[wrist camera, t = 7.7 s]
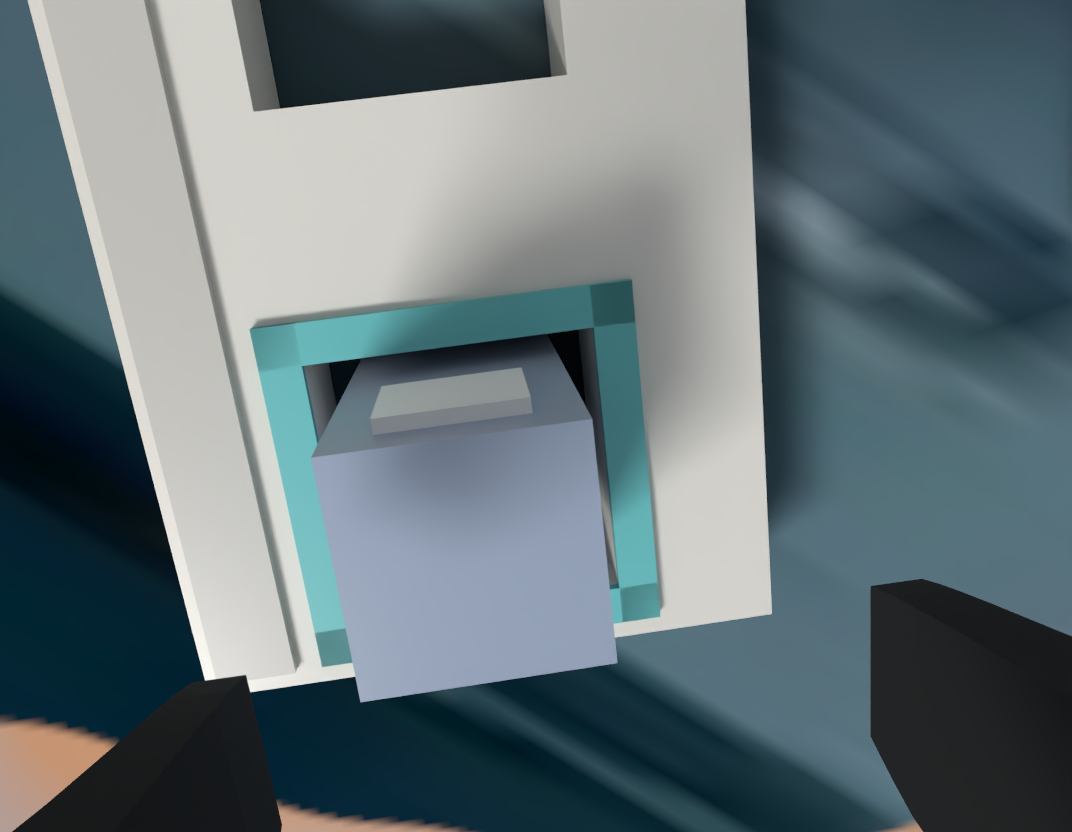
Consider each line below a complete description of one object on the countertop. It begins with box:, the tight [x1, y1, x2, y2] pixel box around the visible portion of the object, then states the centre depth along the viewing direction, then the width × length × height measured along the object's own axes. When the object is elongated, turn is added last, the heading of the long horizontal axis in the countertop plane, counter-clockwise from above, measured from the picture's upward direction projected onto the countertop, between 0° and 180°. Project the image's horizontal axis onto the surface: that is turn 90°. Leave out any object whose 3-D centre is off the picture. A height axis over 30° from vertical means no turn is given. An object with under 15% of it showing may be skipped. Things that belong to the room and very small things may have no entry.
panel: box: [28, 0, 772, 692], centre depth 17 cm, size 12×18×3 cm, turn 7°
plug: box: [311, 334, 617, 702], centre depth 16 cm, size 4×4×7 cm
